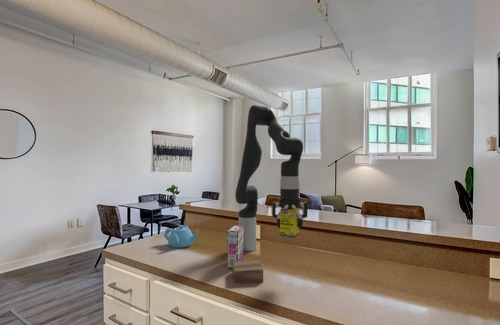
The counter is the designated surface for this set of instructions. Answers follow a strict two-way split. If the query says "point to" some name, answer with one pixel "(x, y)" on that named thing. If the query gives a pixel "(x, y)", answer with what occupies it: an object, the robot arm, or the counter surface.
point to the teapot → (180, 236)
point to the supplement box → (289, 223)
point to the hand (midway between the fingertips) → (289, 227)
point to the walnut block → (247, 271)
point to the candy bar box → (234, 245)
